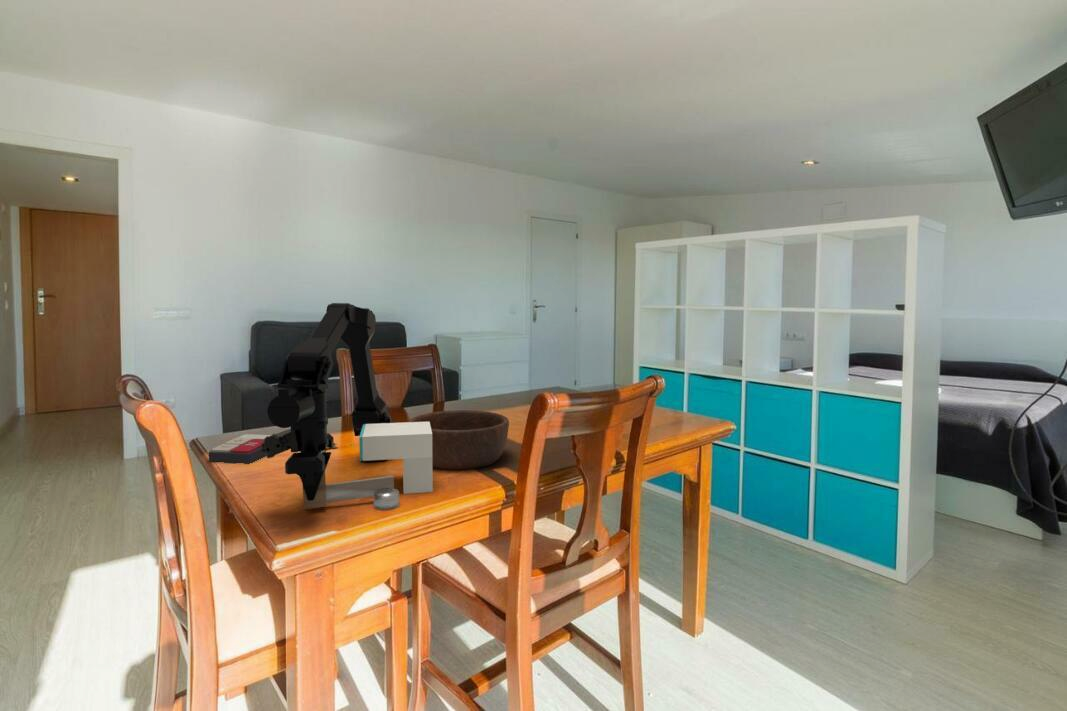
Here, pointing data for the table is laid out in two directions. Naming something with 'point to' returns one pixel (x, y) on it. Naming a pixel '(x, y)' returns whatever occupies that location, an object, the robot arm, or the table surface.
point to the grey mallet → (346, 490)
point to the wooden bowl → (465, 438)
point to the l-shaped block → (402, 450)
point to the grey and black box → (239, 450)
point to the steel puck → (386, 499)
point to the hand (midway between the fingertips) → (312, 496)
